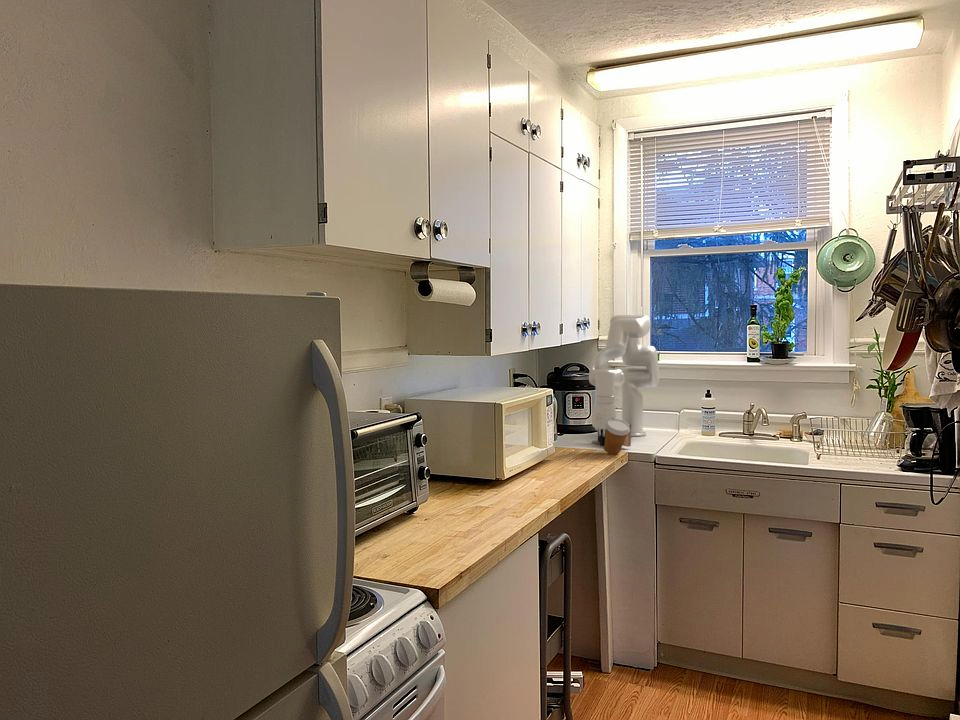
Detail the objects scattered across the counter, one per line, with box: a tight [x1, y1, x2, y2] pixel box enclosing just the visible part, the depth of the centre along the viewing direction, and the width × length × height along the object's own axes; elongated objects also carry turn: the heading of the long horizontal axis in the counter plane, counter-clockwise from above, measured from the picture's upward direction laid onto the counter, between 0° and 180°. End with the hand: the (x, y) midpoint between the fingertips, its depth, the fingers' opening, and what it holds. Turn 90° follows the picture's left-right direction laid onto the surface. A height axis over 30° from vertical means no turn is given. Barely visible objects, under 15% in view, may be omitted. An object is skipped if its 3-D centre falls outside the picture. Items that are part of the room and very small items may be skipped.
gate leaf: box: [622, 424, 632, 447], centre depth 309 cm, size 16×2×9 cm, turn 30°
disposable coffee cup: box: [603, 418, 630, 455], centre depth 290 cm, size 10×10×12 cm
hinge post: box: [591, 431, 600, 445], centre depth 317 cm, size 7×7×11 cm
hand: (604, 445), depth 296 cm, fingers closed
